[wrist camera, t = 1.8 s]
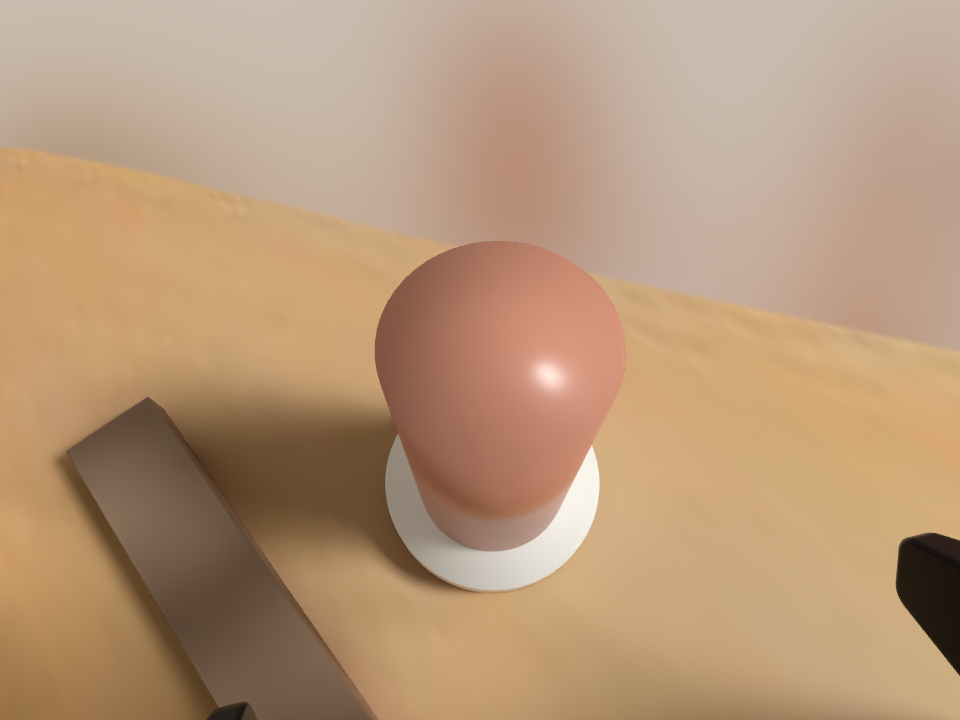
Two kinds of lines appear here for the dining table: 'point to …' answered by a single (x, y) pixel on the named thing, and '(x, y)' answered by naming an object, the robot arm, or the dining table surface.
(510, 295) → the knob
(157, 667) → the dining table surface
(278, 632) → the notched board
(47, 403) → the dining table surface
